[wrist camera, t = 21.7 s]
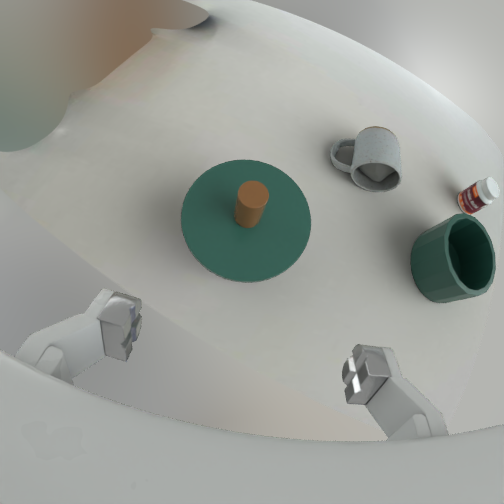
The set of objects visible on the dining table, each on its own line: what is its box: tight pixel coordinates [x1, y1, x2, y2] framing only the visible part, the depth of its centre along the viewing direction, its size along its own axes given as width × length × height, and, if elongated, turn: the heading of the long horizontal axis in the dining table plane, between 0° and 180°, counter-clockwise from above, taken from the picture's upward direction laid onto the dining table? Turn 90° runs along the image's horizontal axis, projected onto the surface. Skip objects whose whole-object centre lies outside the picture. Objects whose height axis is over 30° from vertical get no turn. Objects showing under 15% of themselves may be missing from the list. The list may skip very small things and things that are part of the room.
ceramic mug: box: [330, 126, 402, 192], centre depth 42 cm, size 11×8×8 cm
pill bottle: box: [458, 177, 500, 215], centre depth 43 cm, size 5×5×8 cm
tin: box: [411, 213, 496, 303], centre depth 39 cm, size 12×12×8 cm
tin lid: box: [181, 160, 311, 283], centre depth 28 cm, size 13×13×6 cm
